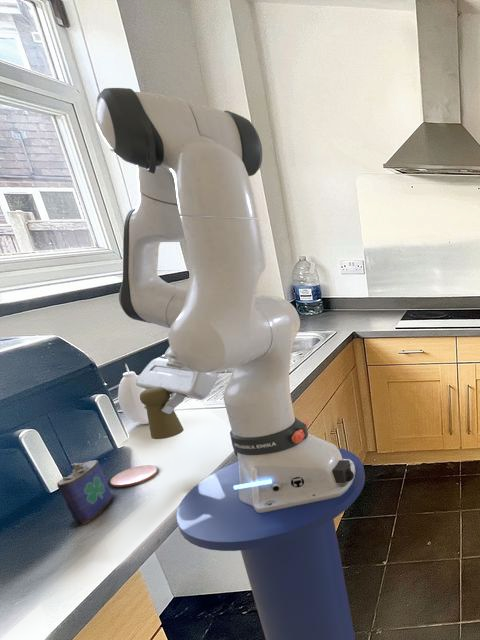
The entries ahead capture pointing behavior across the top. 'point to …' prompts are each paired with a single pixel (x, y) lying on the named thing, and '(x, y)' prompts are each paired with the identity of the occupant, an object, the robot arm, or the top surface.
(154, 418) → the cork
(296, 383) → the top surface
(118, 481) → the coaster
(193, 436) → the top surface
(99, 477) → the flask
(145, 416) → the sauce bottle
